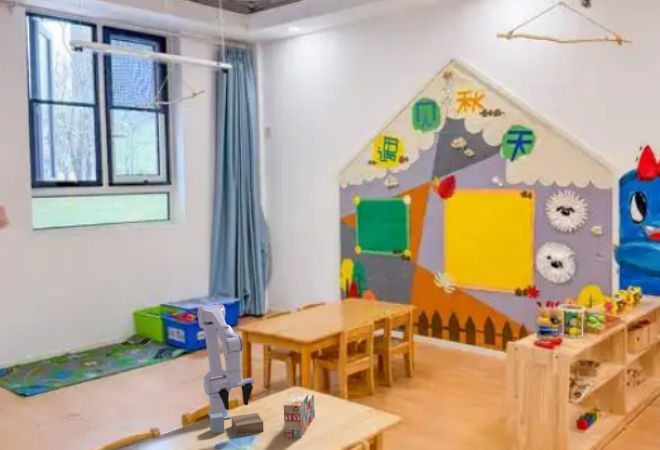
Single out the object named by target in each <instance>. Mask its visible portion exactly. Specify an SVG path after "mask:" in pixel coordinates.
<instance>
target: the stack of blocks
mask: <svg viewBox="0 0 660 450" xmlns="http://www.w3.org/2000/svg"><path fill="white" fill-rule="evenodd" d="M314 398H315V397H314V393H292V394H291V395H290V396H289V397H288V399H287V400H286V401H285V403H284V404H283V417H284V418H283V419H284V422H283V423H284V438H296V439H297V438H298V439H301V438H303V436H304V435H305V433H306V432H307V430H308V428H309V426H310V425H311V423H312V422H313V420H314V419H313V418H315V415H316V414H315V411H316V410H315V399H314Z"/></svg>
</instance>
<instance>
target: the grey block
mask: <svg viewBox="0 0 660 450" xmlns="http://www.w3.org/2000/svg"><path fill="white" fill-rule="evenodd" d="M209 415H210V418H209V427H210V428H209V430H210V433H211V435H216V434H215V433H218V434H222V433H221V432H224V433H225V419H224V416H223V414H222V413H216V414H209ZM209 415H208V416H209Z"/></svg>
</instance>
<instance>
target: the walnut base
mask: <svg viewBox="0 0 660 450" xmlns="http://www.w3.org/2000/svg"><path fill="white" fill-rule="evenodd" d="M230 419H231V428H232V429H233V431H234V433H235V435H236V434H237V435H236V436H240V435H239V434H243V435H248V434H247V433H250V434H254V433H260V432H261V433H262V432H264V420H263V419H262V418H261V416H260V414H259V413H258V412H255V413H248V414H241V415H234V416H231V418H230Z"/></svg>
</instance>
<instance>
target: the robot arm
mask: <svg viewBox="0 0 660 450" xmlns="http://www.w3.org/2000/svg"><path fill="white" fill-rule="evenodd" d="M225 317H226V308H225V306H224V305H223V304H222V303H219V304H212V305H204V306H201V305H200V306H199V307H198V309H197V319H198V320H197V321H198V326H199V328H200V329H203V332H204V337H205V345H206V349H207V351H206V352H207V356H208V365H209V371H208V372H207V373H206V374H205V375H204V377H203V382H204V383H203V389H204V392H205V394H206V395H207V396H208V400H209V411H207V415H208V418H209V419H210V415H209V414H216V413H222V414H223V416H224V420H226V419H232V418H231V417H232V416H231V413H230V412H229V409H230V403H229V396H230V392H231V391H232V389H233V388H238V387H241V392H242V401H243V405H244V406H248V405H249V399H250V395H251V393H252V391H253V389H254V387H253V384H255V380H254V379H255V378H254V377H248V378H243V370H242V368H243V367H242V366H243V365H242V352H243V349H244V347H243V346H244V345H243V340H242V338H241V336H240V335H238V334H236V333H235V331H234V330H233V328H232V326H231V325H229V324H227V323H226V320H225ZM219 340H220V342H221V347H222V354H223V358H224V361H225V362H224V363H225V369H224V368H223V366H222V359H221V352H220V346H219V345H220V343H219Z"/></svg>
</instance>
